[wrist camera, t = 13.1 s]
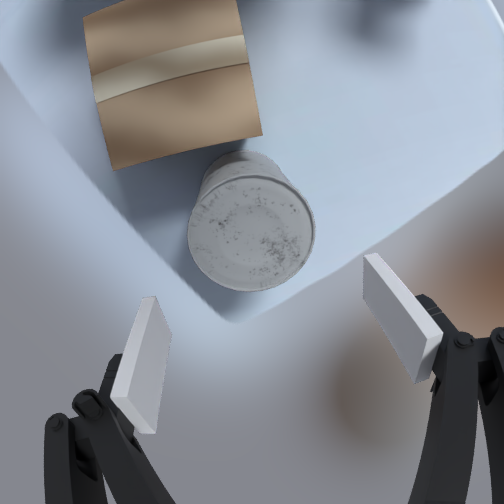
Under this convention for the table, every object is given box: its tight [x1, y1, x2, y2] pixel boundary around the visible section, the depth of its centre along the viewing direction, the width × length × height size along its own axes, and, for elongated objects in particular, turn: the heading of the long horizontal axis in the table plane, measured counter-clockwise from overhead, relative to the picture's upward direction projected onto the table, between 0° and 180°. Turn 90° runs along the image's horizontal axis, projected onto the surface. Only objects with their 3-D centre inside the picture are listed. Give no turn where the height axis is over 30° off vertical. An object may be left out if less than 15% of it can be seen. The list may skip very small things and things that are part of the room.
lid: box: [83, 0, 263, 171], centre depth 20 cm, size 14×12×1 cm
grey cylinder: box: [187, 150, 315, 292], centre depth 28 cm, size 10×10×12 cm
